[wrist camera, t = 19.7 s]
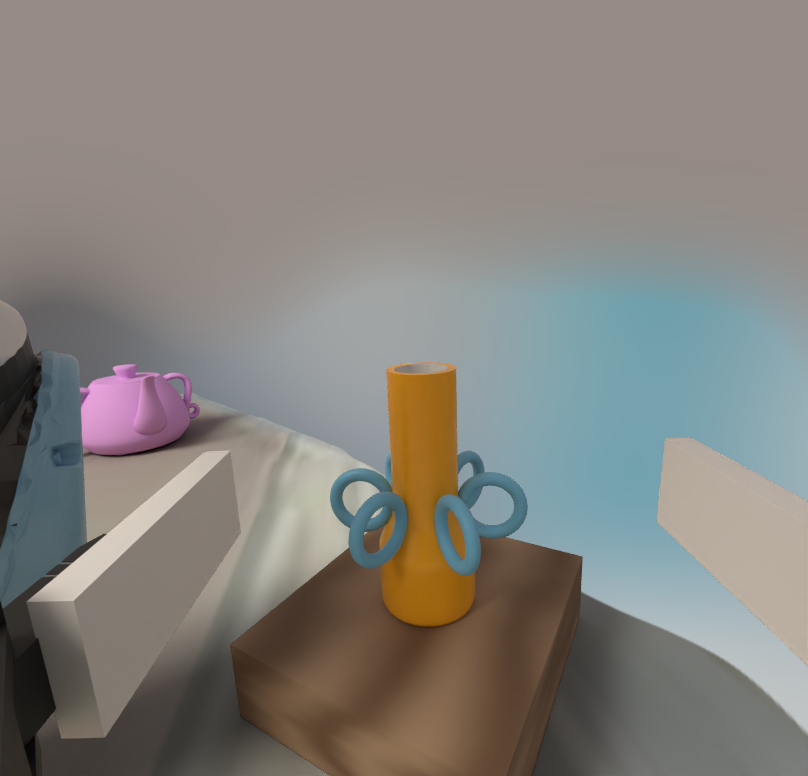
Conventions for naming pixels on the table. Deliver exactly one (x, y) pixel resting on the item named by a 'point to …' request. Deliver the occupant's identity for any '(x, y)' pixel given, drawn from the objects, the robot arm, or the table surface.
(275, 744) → the table surface
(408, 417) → the orange blue tall piece
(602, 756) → the table surface
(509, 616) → the walnut block
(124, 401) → the teapot
